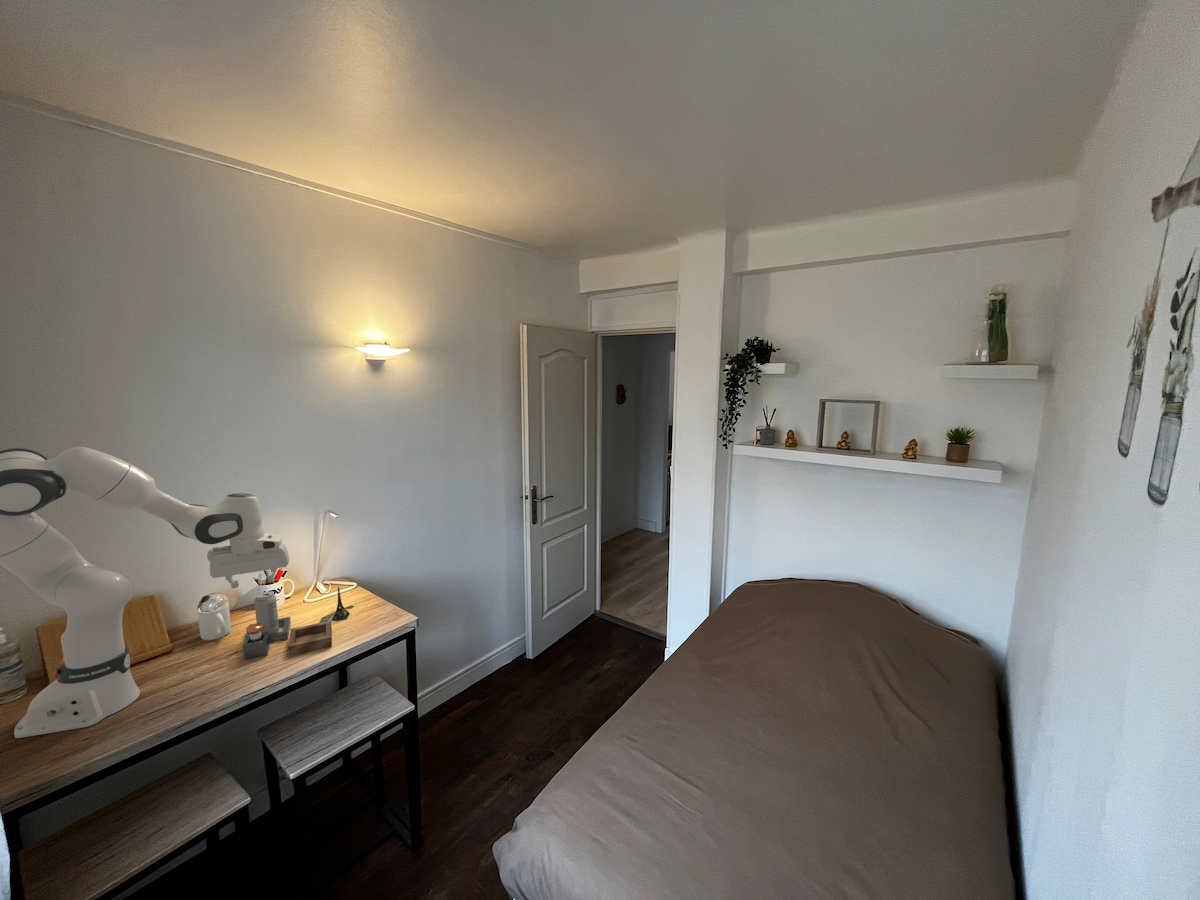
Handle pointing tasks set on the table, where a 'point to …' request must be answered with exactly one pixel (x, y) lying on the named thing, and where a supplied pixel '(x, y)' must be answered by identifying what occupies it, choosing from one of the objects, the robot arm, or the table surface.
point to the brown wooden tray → (310, 638)
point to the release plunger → (255, 632)
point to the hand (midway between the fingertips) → (253, 584)
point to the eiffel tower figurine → (338, 612)
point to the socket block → (265, 640)
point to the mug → (214, 623)
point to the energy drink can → (267, 612)
